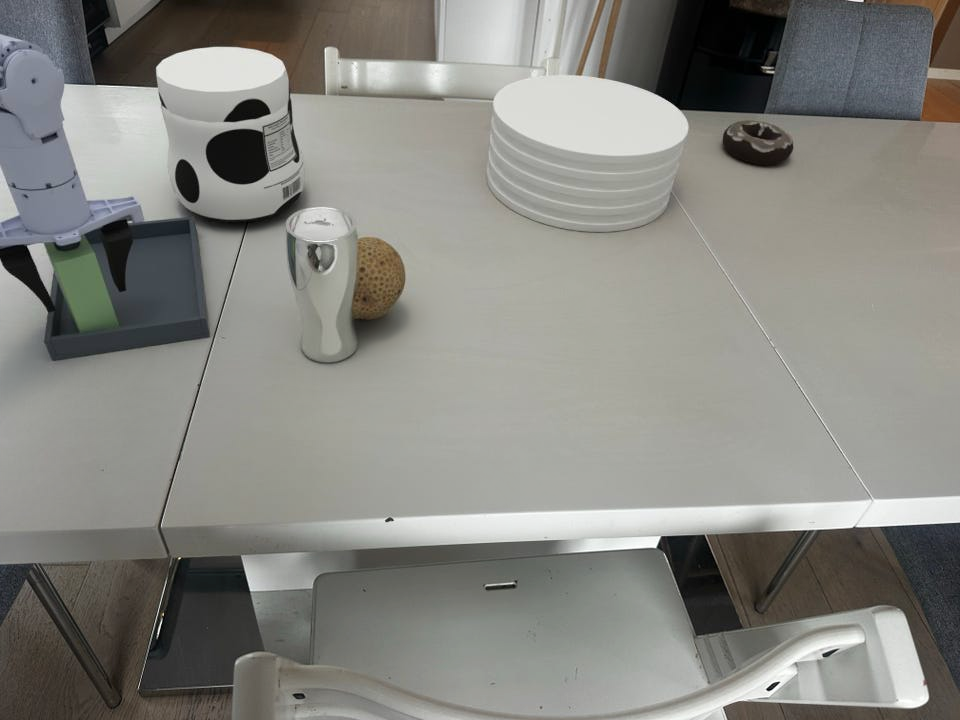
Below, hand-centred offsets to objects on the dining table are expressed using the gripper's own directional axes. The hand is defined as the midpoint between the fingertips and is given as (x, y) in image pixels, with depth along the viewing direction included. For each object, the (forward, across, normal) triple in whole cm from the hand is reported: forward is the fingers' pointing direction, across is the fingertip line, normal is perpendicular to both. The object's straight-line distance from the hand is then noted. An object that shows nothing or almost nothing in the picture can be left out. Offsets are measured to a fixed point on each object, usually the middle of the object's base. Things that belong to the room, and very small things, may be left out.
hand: (85, 296), depth 73 cm
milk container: (+5, +24, +18) cm, 30 cm away
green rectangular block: (+4, 0, 0) cm, 4 cm away
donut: (+5, +105, -6) cm, 105 cm away
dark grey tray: (+4, +5, +5) cm, 9 cm away
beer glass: (+5, +20, -15) cm, 25 cm away
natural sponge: (+5, +25, -13) cm, 29 cm away
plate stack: (+5, +69, 0) cm, 69 cm away
